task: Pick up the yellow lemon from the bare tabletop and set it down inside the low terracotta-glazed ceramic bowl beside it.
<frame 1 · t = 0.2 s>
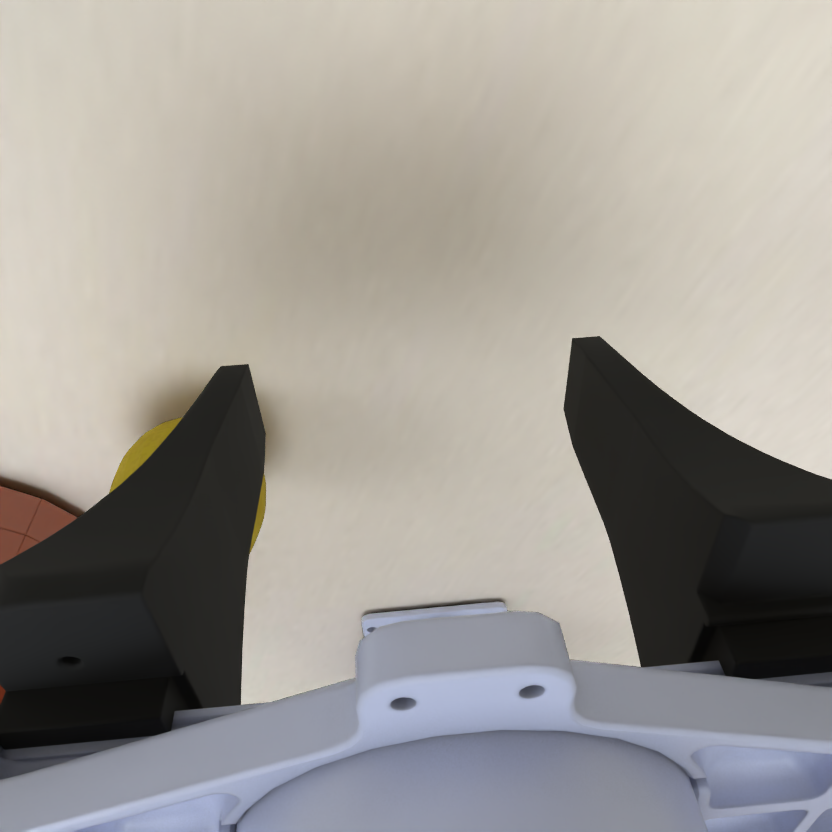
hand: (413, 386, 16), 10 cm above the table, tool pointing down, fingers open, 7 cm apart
lemon: (206, 426, 29), on the table
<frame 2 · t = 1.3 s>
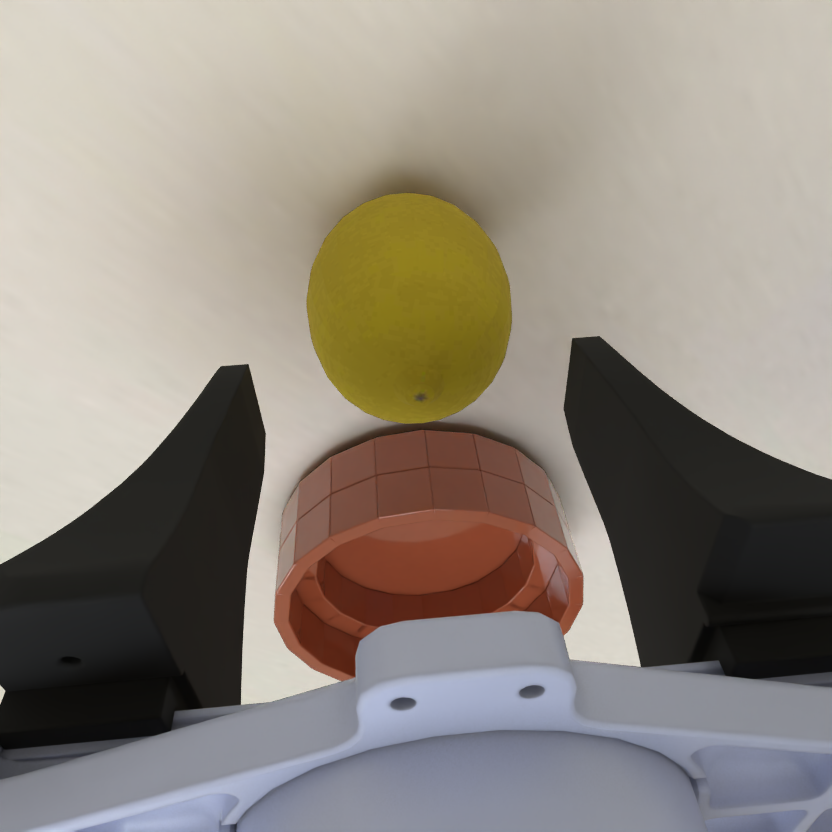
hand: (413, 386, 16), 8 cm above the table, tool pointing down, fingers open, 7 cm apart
lemon: (400, 235, 22), on the table
bowl: (421, 524, 31), on the table
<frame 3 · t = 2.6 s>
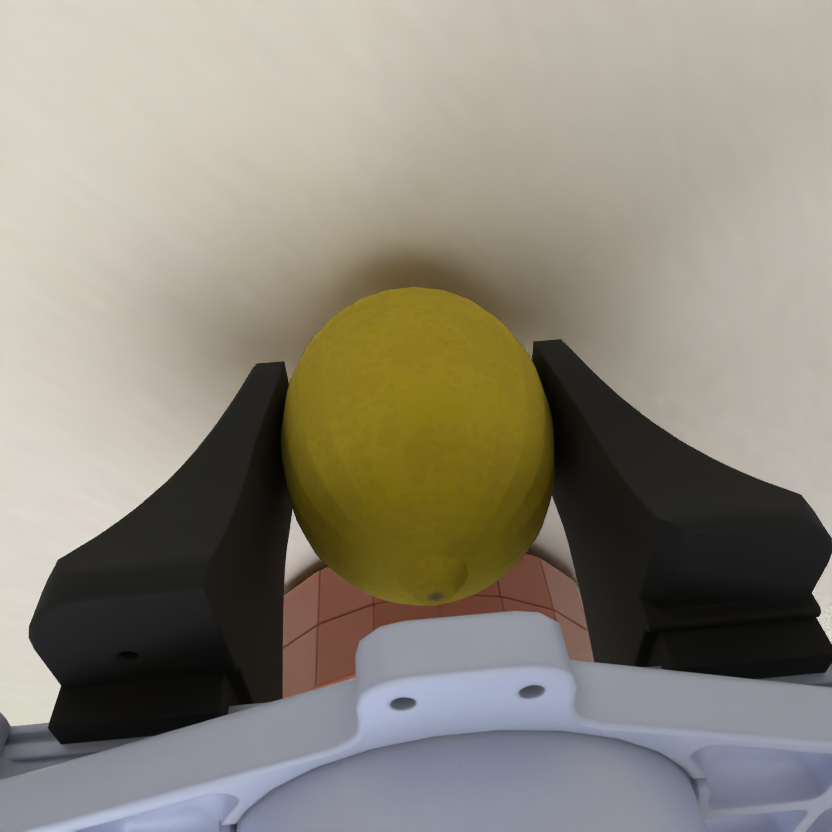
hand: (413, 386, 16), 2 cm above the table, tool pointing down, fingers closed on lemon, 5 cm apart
lemon: (404, 323, 18), on the table, touching gripper
bowl: (426, 633, 27), on the table
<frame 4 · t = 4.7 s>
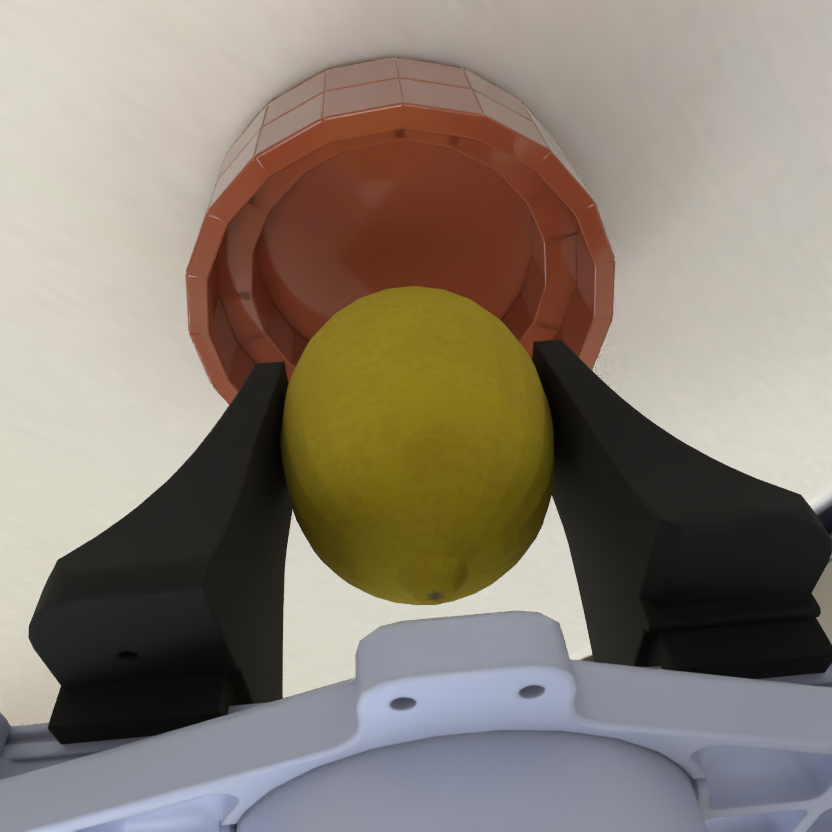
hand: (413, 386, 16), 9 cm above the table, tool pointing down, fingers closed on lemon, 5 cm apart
lemon: (404, 322, 18), point 7 cm above the table, touching gripper
bowl: (396, 250, 24), on the table
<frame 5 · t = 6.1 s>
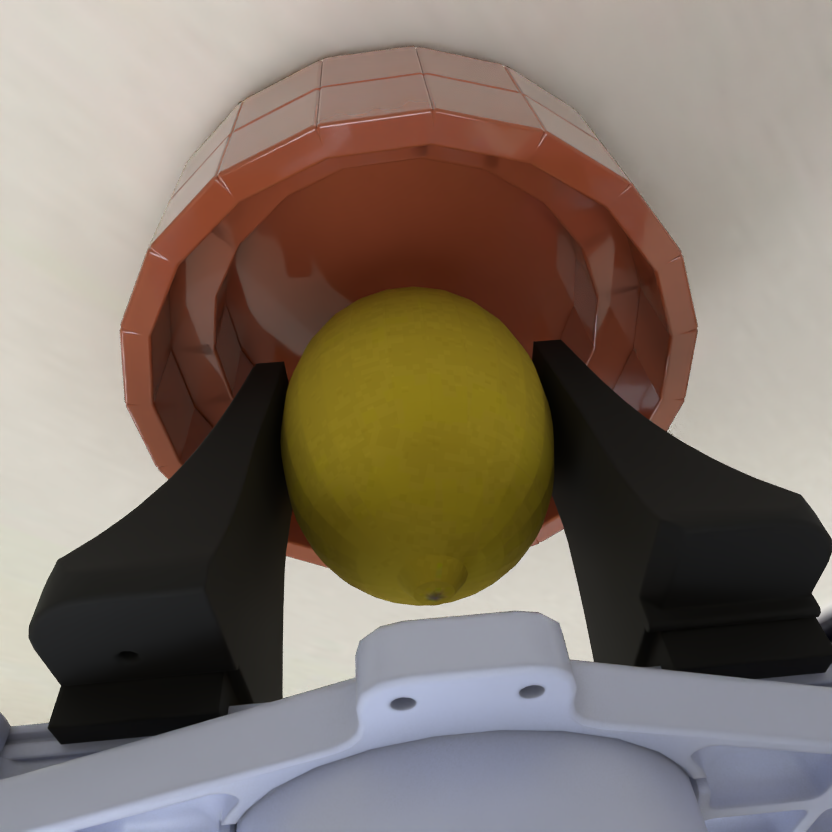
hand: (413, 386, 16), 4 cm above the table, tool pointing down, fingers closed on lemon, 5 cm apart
lemon: (404, 323, 18), point 1 cm above the table, touching gripper
bowl: (402, 293, 19), on the table
when the fingers open (3 cm above the table, at t = 7.0 s): lemon stays where it is, resting on bowl.
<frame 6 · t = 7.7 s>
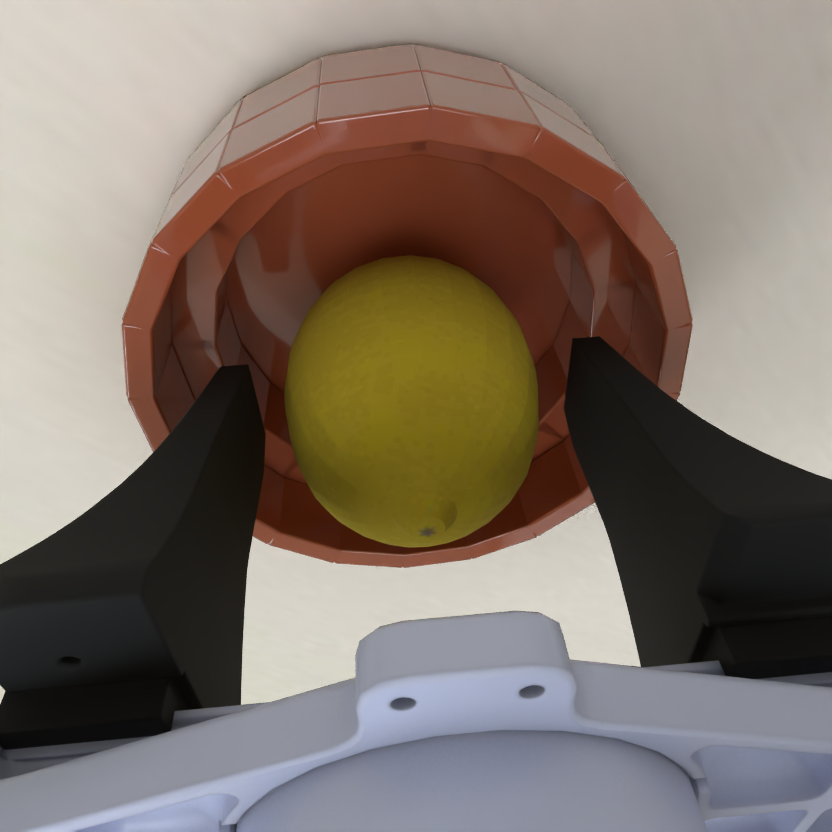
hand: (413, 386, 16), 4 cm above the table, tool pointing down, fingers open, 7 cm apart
lemon: (400, 295, 19), resting on bowl
bowl: (401, 289, 19), on the table
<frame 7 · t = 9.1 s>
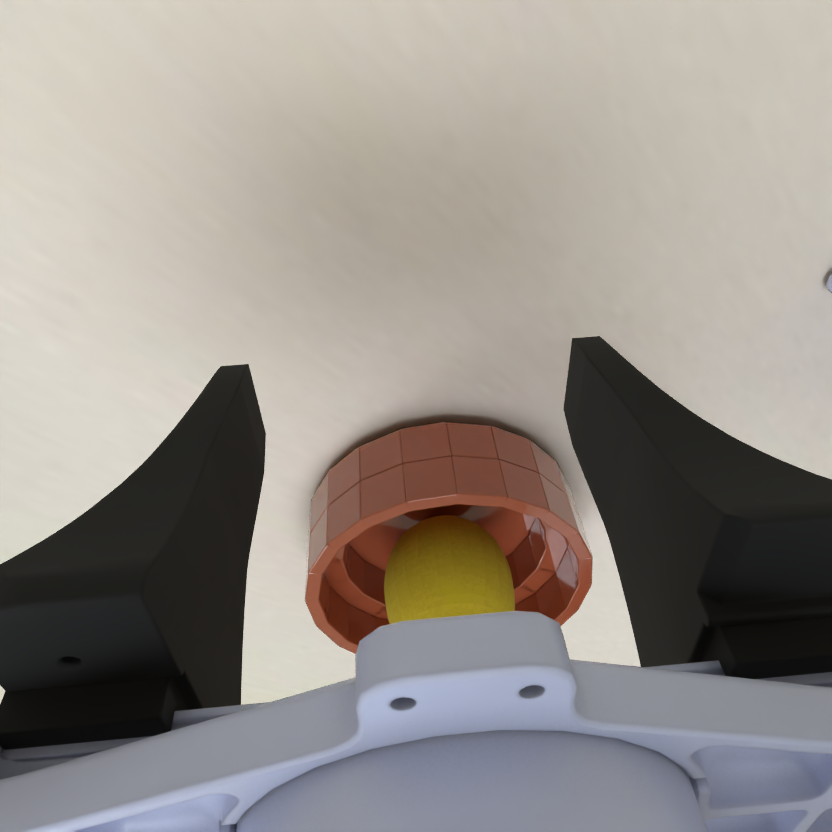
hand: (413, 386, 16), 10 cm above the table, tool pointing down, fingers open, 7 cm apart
lemon: (439, 516, 33), resting on bowl
bowl: (439, 511, 34), on the table
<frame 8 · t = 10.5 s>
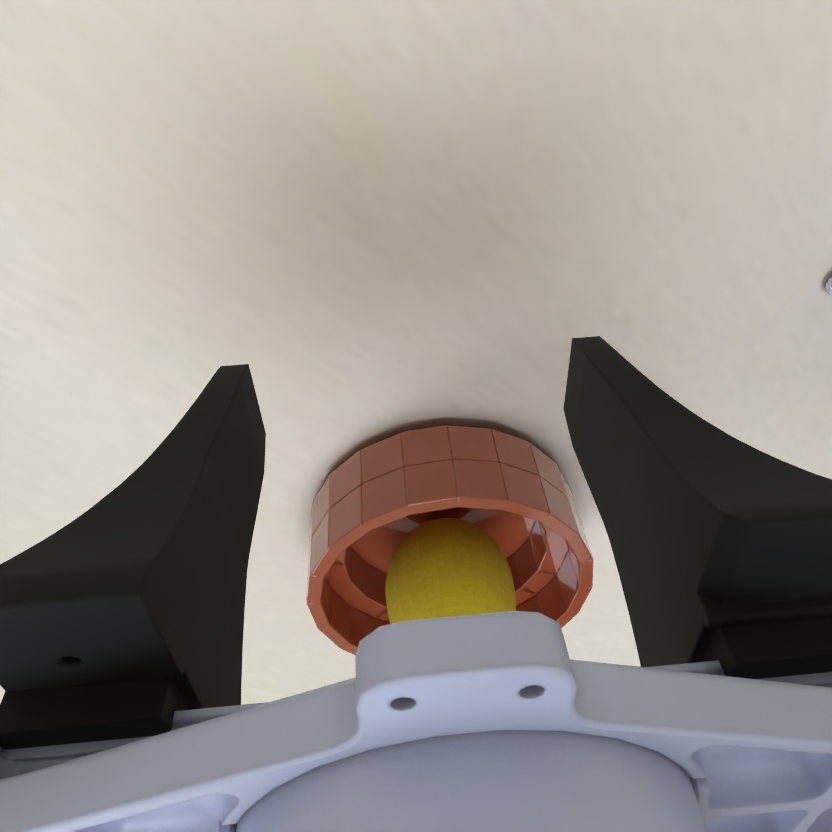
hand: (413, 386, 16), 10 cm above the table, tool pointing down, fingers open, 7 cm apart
lemon: (440, 518, 33), resting on bowl
bowl: (440, 514, 34), on the table
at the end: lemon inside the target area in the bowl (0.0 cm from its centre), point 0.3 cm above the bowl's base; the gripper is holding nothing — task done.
